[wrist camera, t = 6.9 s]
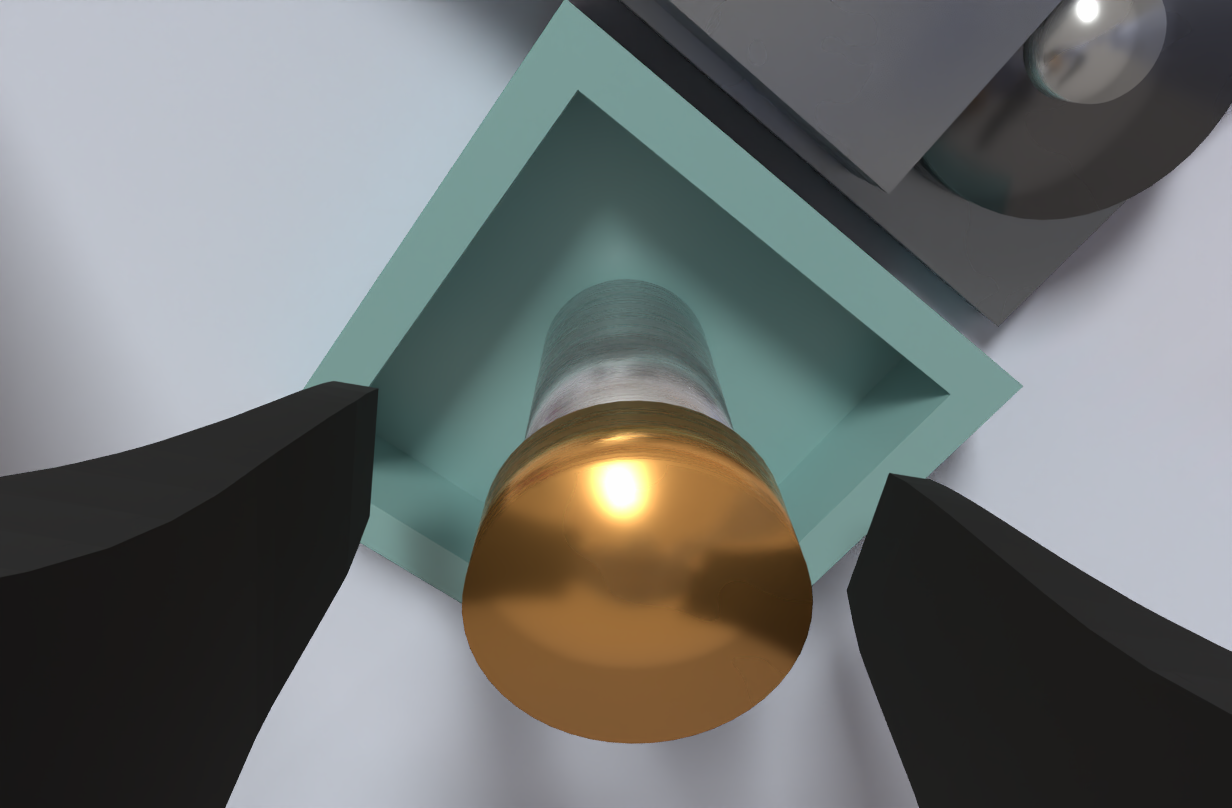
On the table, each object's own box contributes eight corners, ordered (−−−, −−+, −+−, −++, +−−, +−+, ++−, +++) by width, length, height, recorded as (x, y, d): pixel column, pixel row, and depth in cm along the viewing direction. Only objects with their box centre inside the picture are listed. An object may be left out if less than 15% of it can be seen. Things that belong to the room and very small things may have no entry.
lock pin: (743, 279, 14) (855, 490, 8) (702, 457, 16) (767, 759, 9) (539, 247, 14) (476, 439, 7) (517, 432, 15) (449, 724, 9)
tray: (964, 336, 15) (1023, 385, 13) (658, 641, 18) (664, 724, 16) (574, 7, 13) (565, -2, 11) (298, 414, 16) (246, 474, 14)
